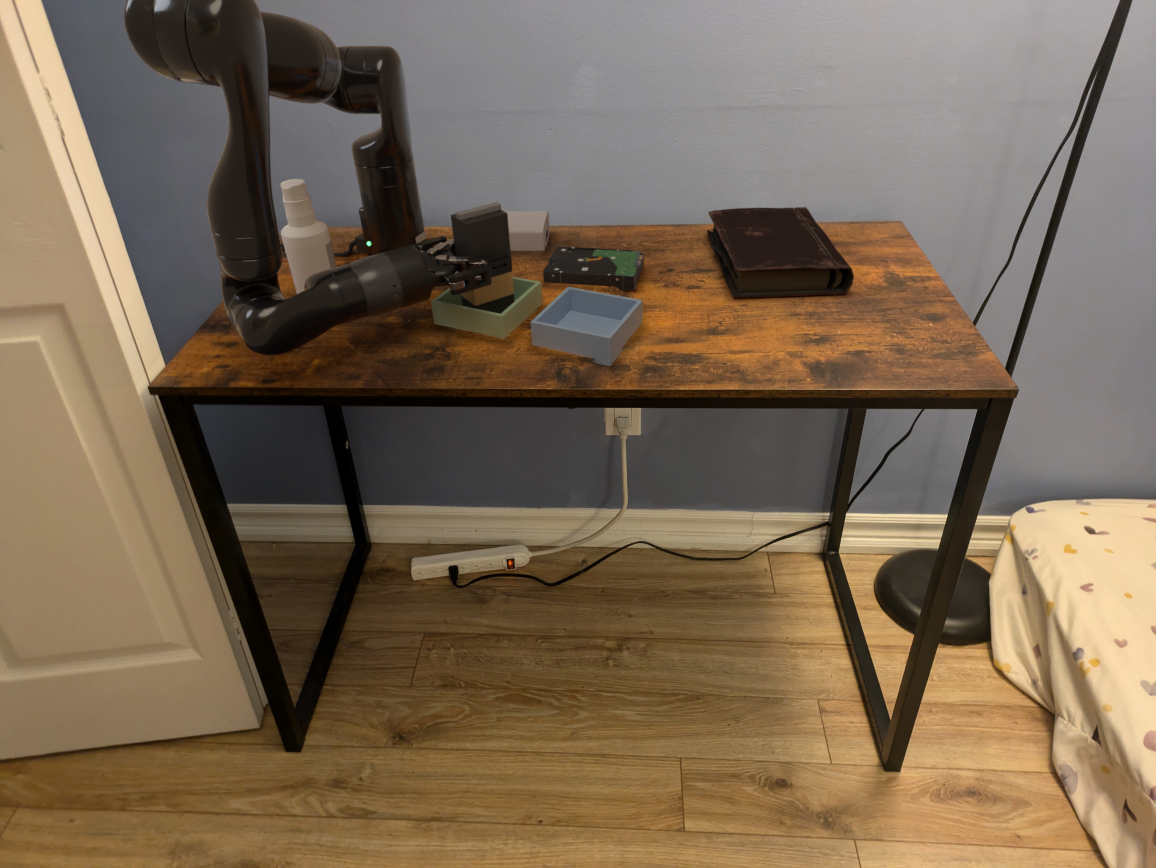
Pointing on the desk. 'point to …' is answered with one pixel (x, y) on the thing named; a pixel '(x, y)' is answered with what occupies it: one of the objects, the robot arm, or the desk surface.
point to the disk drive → (594, 267)
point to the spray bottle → (304, 235)
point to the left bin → (486, 322)
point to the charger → (528, 230)
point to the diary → (777, 253)
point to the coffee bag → (485, 253)
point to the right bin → (587, 324)
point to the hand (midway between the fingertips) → (495, 250)
